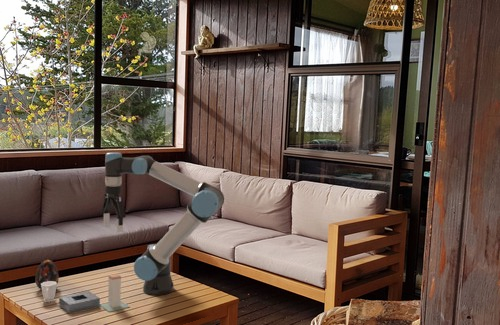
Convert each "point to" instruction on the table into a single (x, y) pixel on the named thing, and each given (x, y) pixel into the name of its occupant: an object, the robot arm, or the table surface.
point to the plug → (114, 290)
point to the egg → (46, 273)
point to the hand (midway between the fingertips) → (113, 229)
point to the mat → (114, 307)
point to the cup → (48, 290)
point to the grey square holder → (79, 302)
